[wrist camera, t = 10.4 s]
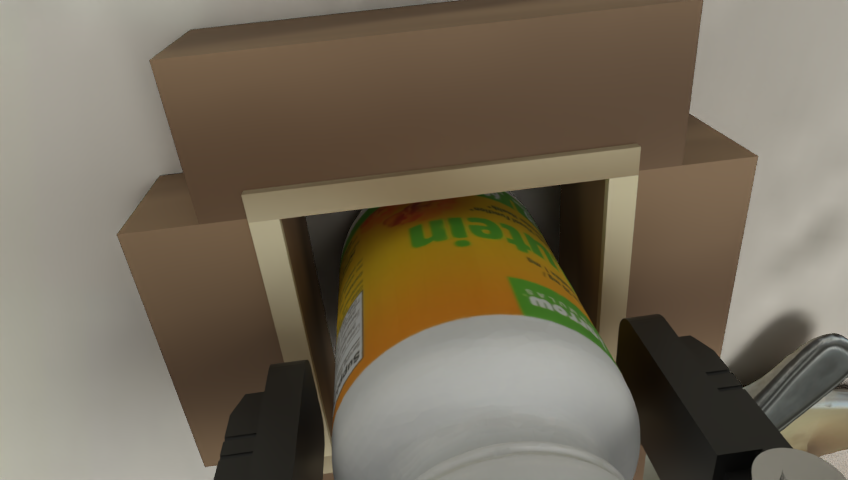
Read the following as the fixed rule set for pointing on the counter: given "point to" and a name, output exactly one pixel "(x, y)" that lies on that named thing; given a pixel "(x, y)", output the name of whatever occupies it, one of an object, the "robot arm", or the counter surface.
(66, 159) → the counter surface
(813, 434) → the avocado toast plate
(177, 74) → the open cardboard box
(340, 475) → the supplement bottle
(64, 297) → the counter surface
